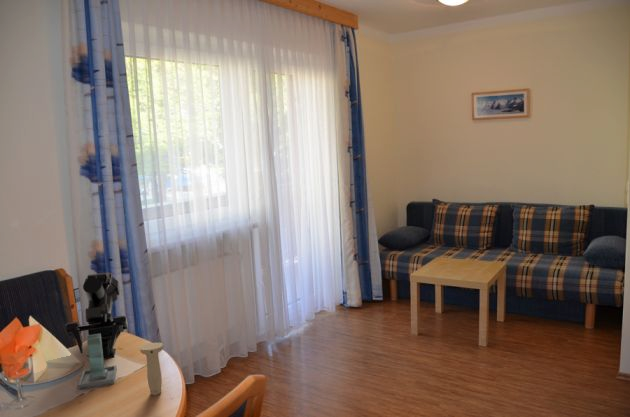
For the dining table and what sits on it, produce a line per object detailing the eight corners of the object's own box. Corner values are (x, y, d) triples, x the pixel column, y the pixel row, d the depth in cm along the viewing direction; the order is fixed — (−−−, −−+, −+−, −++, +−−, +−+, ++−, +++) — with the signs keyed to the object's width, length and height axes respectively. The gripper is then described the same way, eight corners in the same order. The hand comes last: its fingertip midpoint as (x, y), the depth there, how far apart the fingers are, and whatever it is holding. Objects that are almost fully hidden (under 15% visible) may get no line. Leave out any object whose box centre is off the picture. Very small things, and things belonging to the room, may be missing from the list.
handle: (167, 395, 151) (162, 347, 149) (144, 399, 149) (139, 351, 147) (166, 387, 155) (162, 341, 153) (145, 391, 154) (140, 344, 151)
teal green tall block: (91, 375, 164) (86, 334, 162) (107, 372, 166) (103, 332, 163) (89, 382, 159) (84, 340, 157) (106, 379, 161) (101, 338, 159)
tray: (84, 374, 166) (83, 370, 166) (117, 369, 169) (116, 365, 169) (78, 389, 156) (78, 384, 156) (114, 383, 159) (113, 379, 159)
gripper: (62, 299, 163) (59, 345, 155) (123, 292, 168) (124, 336, 160) (69, 314, 172) (67, 358, 163) (127, 307, 177) (128, 349, 168)
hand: (96, 350), depth 163 cm, fingers open, 9 cm apart
